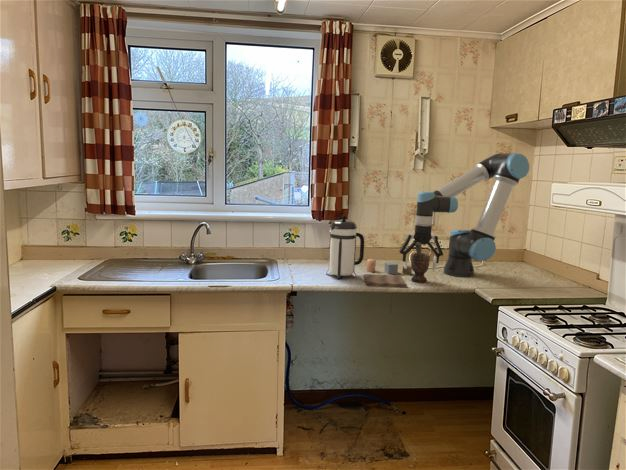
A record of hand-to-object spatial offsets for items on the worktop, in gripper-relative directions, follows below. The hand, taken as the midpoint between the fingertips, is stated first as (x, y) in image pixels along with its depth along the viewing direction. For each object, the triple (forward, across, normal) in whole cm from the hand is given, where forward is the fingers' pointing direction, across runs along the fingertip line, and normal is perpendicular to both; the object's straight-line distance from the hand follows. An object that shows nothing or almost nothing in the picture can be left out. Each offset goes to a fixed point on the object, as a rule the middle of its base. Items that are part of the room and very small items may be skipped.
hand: (419, 269), depth 215 cm
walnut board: (+6, +17, +3) cm, 18 cm away
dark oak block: (+6, +3, -15) cm, 17 cm away
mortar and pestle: (+7, 0, 0) cm, 7 cm away
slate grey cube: (+6, +11, -16) cm, 20 cm away
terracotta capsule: (+6, +21, -18) cm, 28 cm away
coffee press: (+7, +36, -6) cm, 37 cm away
